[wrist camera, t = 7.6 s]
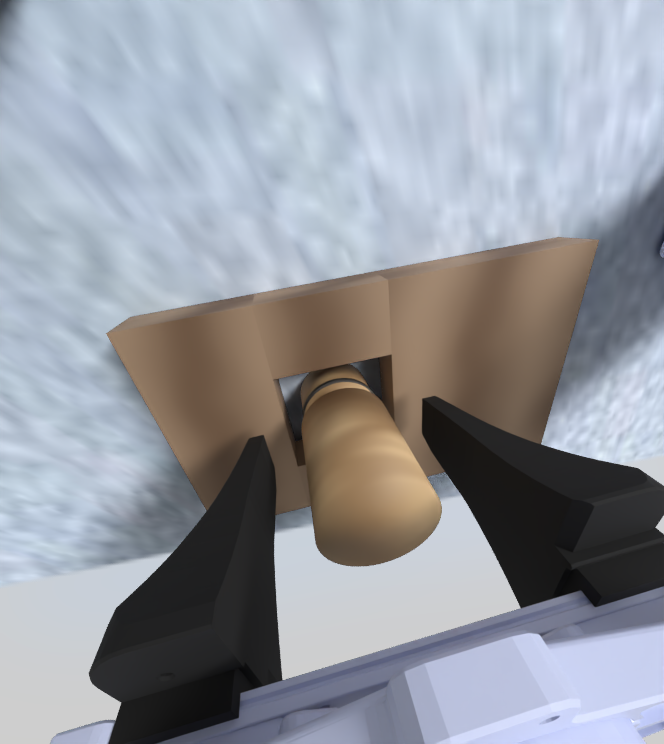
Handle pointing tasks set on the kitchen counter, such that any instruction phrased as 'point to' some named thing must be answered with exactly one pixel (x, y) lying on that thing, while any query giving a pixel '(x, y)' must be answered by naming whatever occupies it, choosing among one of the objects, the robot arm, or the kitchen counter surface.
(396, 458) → the oak peg
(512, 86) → the kitchen counter surface
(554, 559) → the robot arm
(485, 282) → the walnut board
